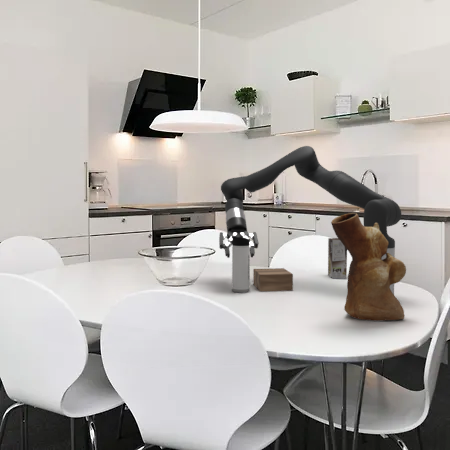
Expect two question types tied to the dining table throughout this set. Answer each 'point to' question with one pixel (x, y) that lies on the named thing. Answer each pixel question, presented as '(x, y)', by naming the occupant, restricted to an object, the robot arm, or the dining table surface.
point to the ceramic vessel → (369, 271)
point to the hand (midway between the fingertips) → (240, 256)
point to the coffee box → (337, 258)
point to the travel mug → (240, 264)
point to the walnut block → (273, 279)
